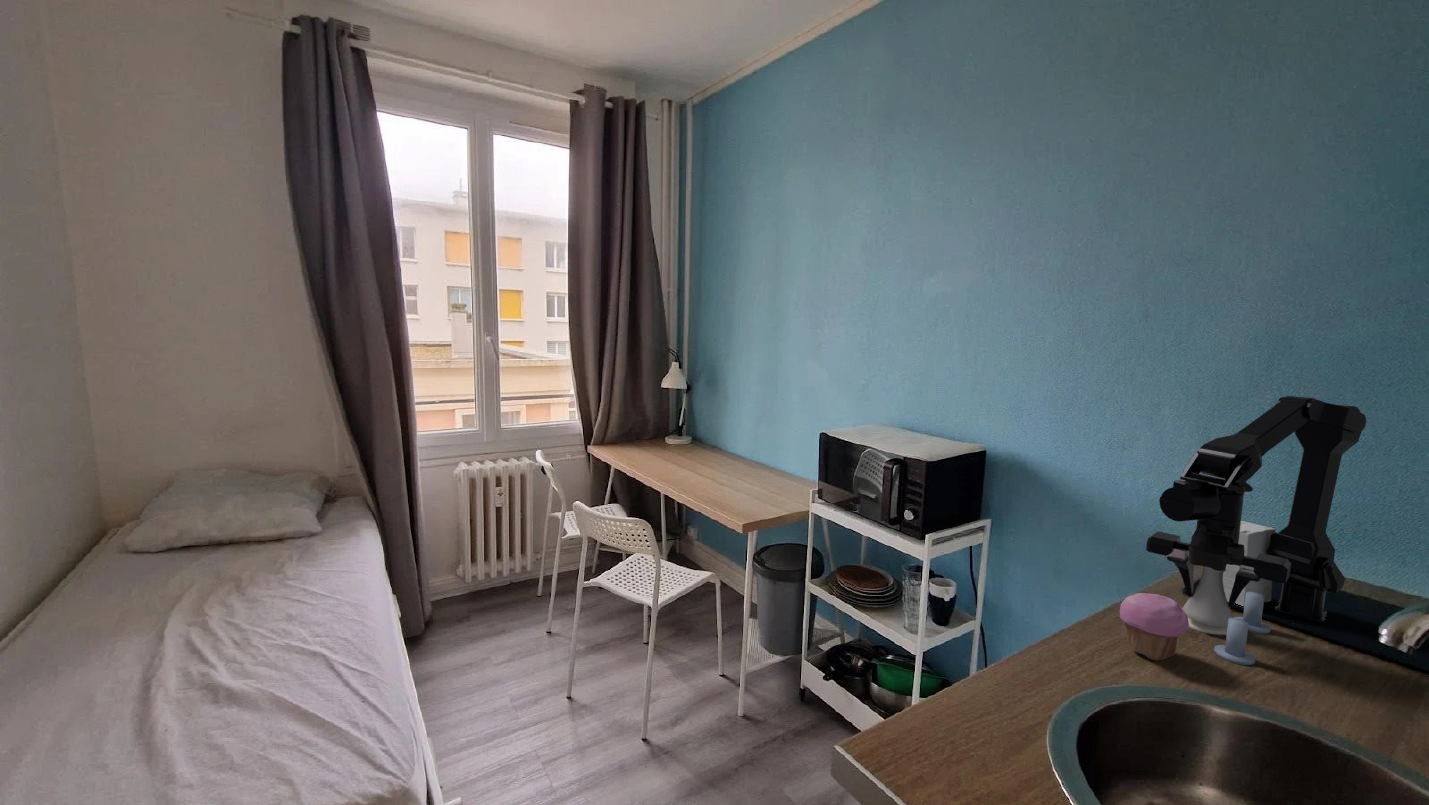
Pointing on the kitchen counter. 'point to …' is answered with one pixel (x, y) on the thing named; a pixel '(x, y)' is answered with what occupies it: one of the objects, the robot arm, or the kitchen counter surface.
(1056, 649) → the kitchen counter surface
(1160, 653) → the cupcake
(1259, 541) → the skincare box
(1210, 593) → the flask
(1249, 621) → the pair of blue pegs
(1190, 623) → the cream round disc
